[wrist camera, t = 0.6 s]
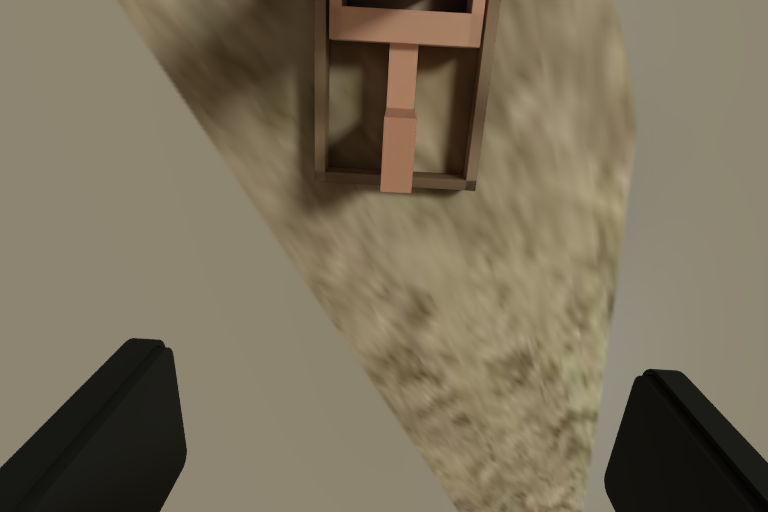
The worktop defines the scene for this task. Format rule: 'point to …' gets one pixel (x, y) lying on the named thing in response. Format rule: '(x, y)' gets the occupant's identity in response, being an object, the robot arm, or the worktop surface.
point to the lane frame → (418, 178)
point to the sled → (404, 67)
